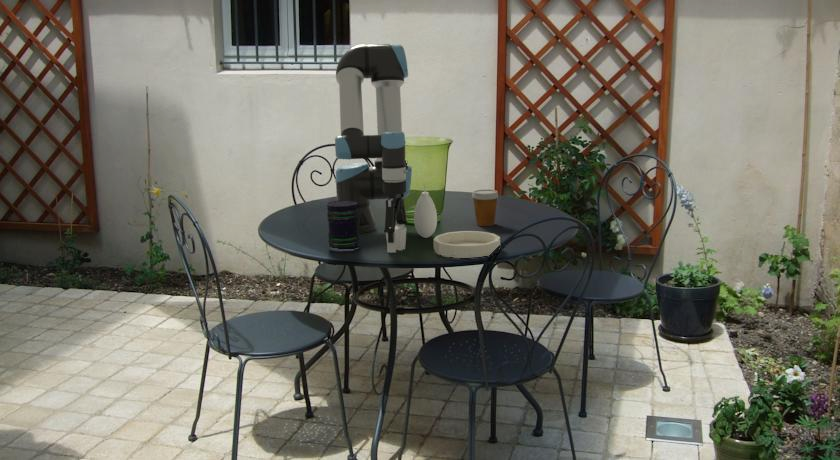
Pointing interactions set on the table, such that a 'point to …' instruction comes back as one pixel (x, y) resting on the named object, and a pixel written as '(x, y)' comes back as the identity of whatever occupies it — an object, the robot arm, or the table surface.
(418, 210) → the sauce bottle
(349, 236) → the storage jar
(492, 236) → the cream bowl
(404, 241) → the shot glass
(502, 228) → the table surface
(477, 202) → the disposable coffee cup
